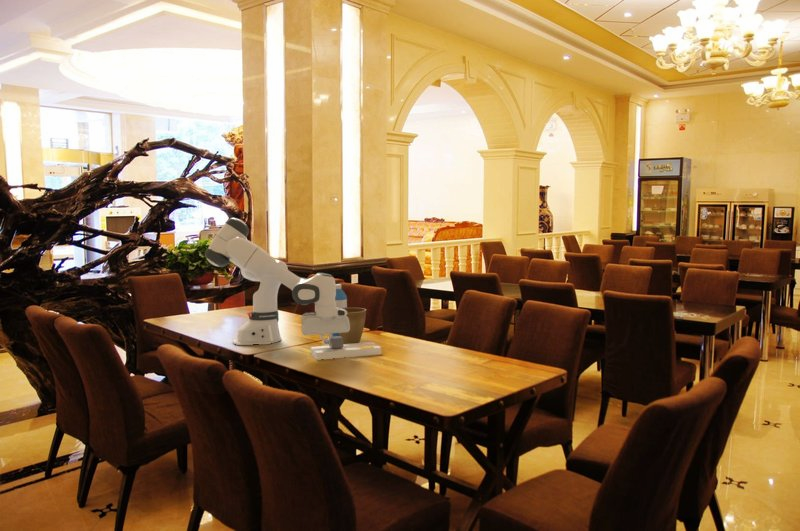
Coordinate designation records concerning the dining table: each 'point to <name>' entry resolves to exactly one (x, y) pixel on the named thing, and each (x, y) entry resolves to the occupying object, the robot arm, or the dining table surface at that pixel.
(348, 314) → the plant pot
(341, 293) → the water bottle
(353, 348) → the switch plate
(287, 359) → the dining table surface
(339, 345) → the switch knob
